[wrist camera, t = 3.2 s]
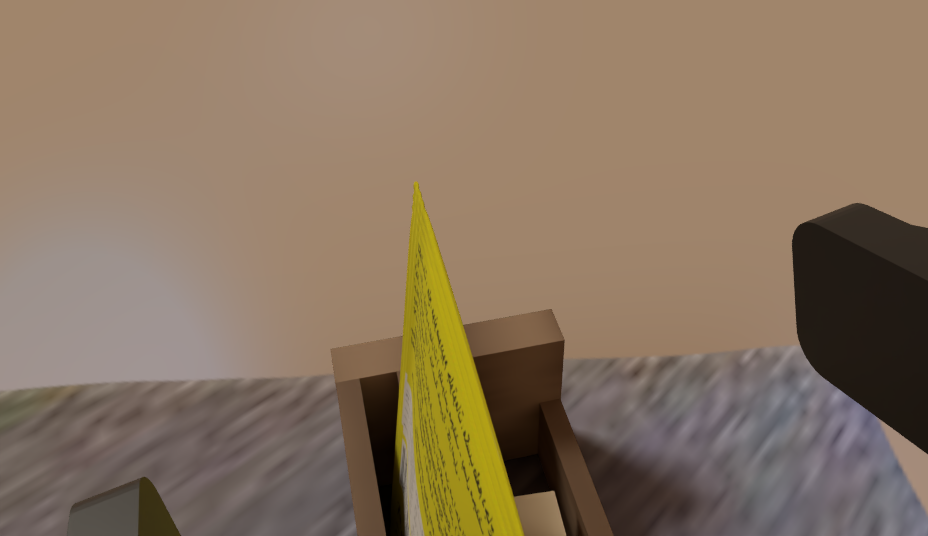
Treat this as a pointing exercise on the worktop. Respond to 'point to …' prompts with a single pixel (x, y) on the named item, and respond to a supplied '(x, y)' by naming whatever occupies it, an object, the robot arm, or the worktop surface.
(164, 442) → the worktop surface
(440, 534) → the food package
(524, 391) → the walnut rack
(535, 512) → the upper pine offcut
